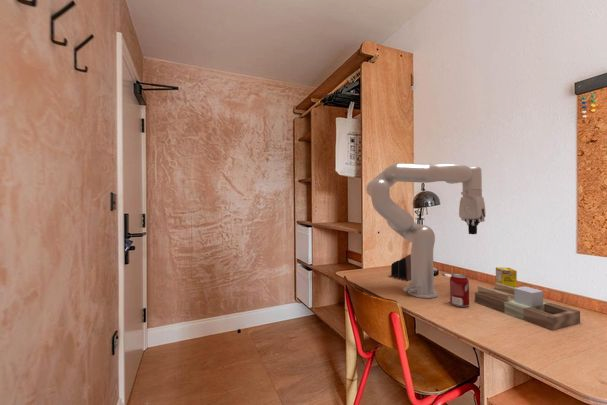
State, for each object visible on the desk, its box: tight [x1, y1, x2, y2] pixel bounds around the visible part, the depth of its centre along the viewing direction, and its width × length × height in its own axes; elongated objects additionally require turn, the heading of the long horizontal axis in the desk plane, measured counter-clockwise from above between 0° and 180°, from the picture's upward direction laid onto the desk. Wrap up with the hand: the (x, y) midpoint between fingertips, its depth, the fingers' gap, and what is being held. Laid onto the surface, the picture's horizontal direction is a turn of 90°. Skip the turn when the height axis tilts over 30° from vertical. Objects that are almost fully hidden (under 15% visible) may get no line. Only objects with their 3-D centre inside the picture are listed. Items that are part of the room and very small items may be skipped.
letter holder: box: [390, 253, 411, 282], centre depth 154 cm, size 10×20×14 cm, turn 129°
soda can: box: [449, 273, 470, 308], centre depth 110 cm, size 7×7×12 cm
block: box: [514, 285, 544, 307], centre depth 100 cm, size 6×6×5 cm
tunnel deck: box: [474, 282, 581, 331], centre depth 103 cm, size 15×27×6 cm, turn 20°
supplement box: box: [495, 266, 518, 288], centre depth 124 cm, size 6×6×11 cm
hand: (472, 233), depth 124 cm, fingers closed
